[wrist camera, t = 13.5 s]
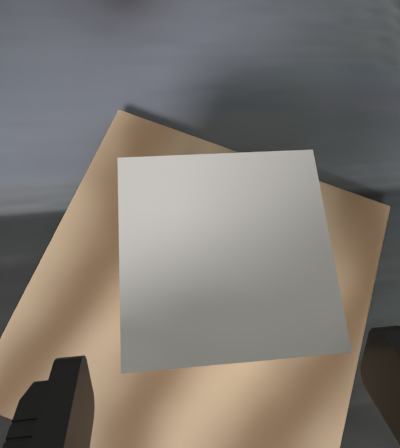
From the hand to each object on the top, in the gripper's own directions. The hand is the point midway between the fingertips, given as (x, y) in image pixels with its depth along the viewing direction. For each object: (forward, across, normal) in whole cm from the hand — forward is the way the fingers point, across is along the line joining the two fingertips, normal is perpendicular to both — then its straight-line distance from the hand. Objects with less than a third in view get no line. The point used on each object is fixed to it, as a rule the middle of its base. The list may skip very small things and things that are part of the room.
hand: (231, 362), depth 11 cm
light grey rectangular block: (+9, 0, +5) cm, 10 cm away
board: (+10, 0, +5) cm, 11 cm away
